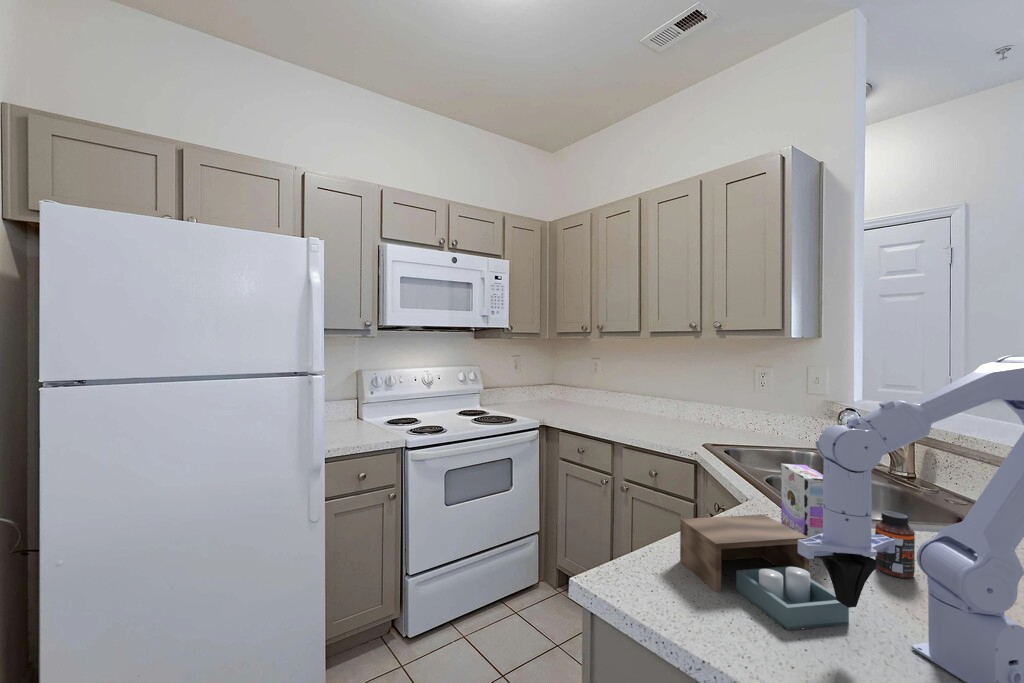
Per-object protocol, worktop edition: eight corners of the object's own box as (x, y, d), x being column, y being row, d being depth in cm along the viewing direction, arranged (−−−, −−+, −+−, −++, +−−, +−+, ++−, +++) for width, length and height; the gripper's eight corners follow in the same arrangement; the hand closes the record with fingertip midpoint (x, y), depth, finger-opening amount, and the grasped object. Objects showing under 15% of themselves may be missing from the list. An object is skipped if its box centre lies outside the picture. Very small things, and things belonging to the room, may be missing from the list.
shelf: (809, 583, 84) (809, 537, 85) (716, 591, 81) (716, 543, 81) (763, 554, 96) (763, 514, 96) (680, 560, 93) (680, 519, 93)
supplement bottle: (908, 582, 85) (908, 522, 85) (870, 569, 90) (870, 512, 90) (919, 574, 88) (919, 515, 89) (881, 562, 93) (881, 506, 94)
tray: (848, 624, 72) (848, 591, 72) (787, 630, 70) (787, 597, 70) (790, 585, 84) (790, 557, 84) (736, 590, 82) (736, 561, 82)
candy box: (836, 559, 95) (835, 479, 95) (804, 556, 96) (804, 478, 96) (807, 533, 108) (807, 463, 108) (779, 531, 109) (779, 462, 110)
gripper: (826, 522, 61) (826, 624, 61) (916, 517, 64) (916, 615, 63) (786, 504, 68) (786, 595, 68) (869, 500, 71) (869, 588, 70)
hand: (846, 603), depth 66 cm, fingers closed
